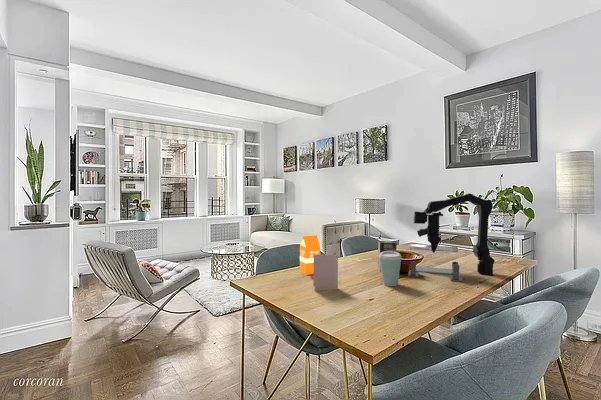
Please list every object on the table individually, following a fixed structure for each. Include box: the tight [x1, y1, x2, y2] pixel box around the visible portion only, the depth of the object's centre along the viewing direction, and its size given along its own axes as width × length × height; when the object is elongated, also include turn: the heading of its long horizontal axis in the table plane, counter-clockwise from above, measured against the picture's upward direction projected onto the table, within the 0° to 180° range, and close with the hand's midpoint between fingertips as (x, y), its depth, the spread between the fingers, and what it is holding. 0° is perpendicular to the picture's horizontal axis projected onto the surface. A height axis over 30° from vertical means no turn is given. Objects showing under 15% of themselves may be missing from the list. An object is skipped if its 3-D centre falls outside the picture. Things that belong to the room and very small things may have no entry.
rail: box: [409, 243, 459, 254], centre depth 169 cm, size 24×3×3 cm, turn 68°
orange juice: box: [299, 234, 321, 275], centre depth 167 cm, size 8×9×20 cm
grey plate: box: [416, 265, 452, 276], centre depth 169 cm, size 24×11×1 cm, turn 68°
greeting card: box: [313, 254, 339, 292], centre depth 138 cm, size 11×7×15 cm, turn 74°
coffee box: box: [377, 240, 398, 272], centre depth 171 cm, size 9×6×16 cm
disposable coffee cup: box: [377, 251, 402, 287], centre depth 145 cm, size 11×11×15 cm
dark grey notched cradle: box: [407, 260, 463, 283], centre depth 157 cm, size 25×9×8 cm, turn 68°
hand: (433, 251), depth 169 cm, fingers closed on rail, 3 cm apart
